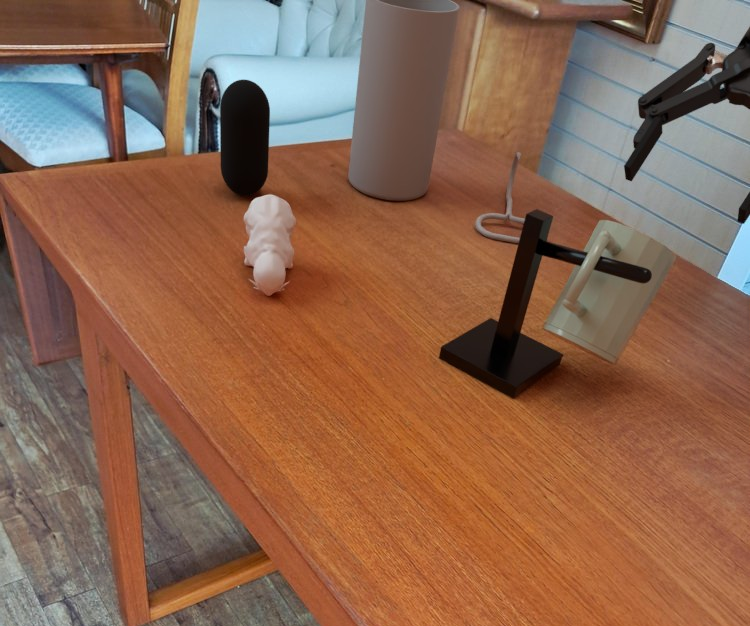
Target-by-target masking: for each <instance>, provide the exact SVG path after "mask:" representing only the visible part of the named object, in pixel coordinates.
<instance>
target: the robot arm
mask: <svg viewBox="0 0 750 626" xmlns="http://www.w3.org/2000/svg"><path fill="white" fill-rule="evenodd" d="M717 69H721V71H719V72H717V73H715V74H713V75H712V73H713V71H715V70H717ZM706 75H711V76H710V78H709V79H708V80H706V81H703V82H702V83H700V84H698V85H697V83H698V82H700V81H701V80H702V79H703V78H704V77H705V76H706ZM693 85H695V86H693ZM722 85H723V87H721V86H722ZM692 86H693V87H692ZM726 100H728V104H731V105H734V106H743V107H745V108H746V109H748V110H750V26H749V27H748V29H747V30H746V31H745V33H744V34H743V36H742V38H741V40H740V41H739V43H738V44H737V46H736V48H735V49H734V50H733V51H732V52H730V53H728V55H727V54H726V53H722V52H720V51H718V50H716V44H715V43H713V42H707V43H706V44H704V46H703V47H702V49H701V50H699V52H698V54H696V56H695V57H694V58H692V59H691V60H690V61H688V62H687V63H686V64H684V65H683V66H682V67H680V68H679V69H678V70H676V71H675V72H673V73H672V74H670V75H669V76H668V77H666V78H665V79H663V80H662V81H661V82H660V83H658V84H656V85H655V86H653V87H652V88H651V89H649V90H648V91H647V92H645V93H644V94H642V95H641V96H639V98H638V100H637V109H638V116H639V118H640V119H643V121H642V123H641V125H640V126H639V128H638V129H637V131H636V132H635V134H634V136H633V140H632V144H633V150H632V153H631V154H630V156H629V157H628V158H627V161H626V162H625V164H624V165H623V169H624V176H625V180H626V181H629V182H633V180H634V179H635V177H636V175H637V174H638V173H639V170H640V169H641V168H642V166H643V164H644V163H645V161H646V160H647V158H648V157H649V155H650V153H651V152H652V150H653V149H654V147H655V146H656V144H657V142H658V141H659V139H660V138H661V136H662V134H663V126H665V125H666V124H669V123H671V122H673V121H675V120H678V119H679V118H682V117H684V116H686V115H688V114H691V113H693V112H695V111H698V110H699V109H702V108H704V107H706V106H708V105H710V104H713V105H716V104H719V103H721V102H723V101H726ZM749 217H750V191H749V192H748V193H747V195H746V197H745V198H744V200H743V201H742V203H741V205H740V206H739V207H738V213H737V222H738V223H740V224H743V225H745V223H746V222H747V220H748V218H749Z"/></svg>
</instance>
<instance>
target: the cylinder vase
mask: <svg viewBox="0 0 750 626" xmlns="http://www.w3.org/2000/svg"><path fill="white" fill-rule="evenodd" d="M459 12H460V5H459V4H458V3H456V2H455V1H453V0H365V6H364V16H363V25H362V34H361V35H362V36H361V46H360V54H359V65H358V73H357V74H358V75H357V84H356V92H355V93H356V95H355V103H354V115H353V122H352V134H351V143H350V144H351V145H350V153H349V164H348V173H347V177H348V181H349V183H350V184H351V186H352V187H353V188H354V189H356V190H357V191H358V192H360V193H362V194H364V195H367V196H369V197H372V198H376V199H379V200H383V201H384V200H386V201H394V202H401V201H402V202H404V201H412V200H415V199H419V198H421V197H422V196H424V195H425V194H426V193H427V191H428V190H429V185H430V180H431V174H432V169H433V162H434V157H435V151H436V146H437V141H438V133H439V128H440V122H441V116H442V110H443V104H444V99H445V93H446V87H447V86H446V85H447V81H448V76H449V69H450V65H451V64H450V63H451V58H452V53H453V52H452V51H453V47H454V41H455V36H456V35H455V34H456V29H457V22H458V17H459Z"/></svg>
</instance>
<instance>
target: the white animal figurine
mask: <svg viewBox="0 0 750 626" xmlns="http://www.w3.org/2000/svg"><path fill="white" fill-rule="evenodd" d="M292 210H293V209H292V208H291V205H290V204H289V202H288V201H287V200H286V199H283V198H281V197H280V196H277V195H275V194H271V193H269V194H265V195H261V196H258V197H255V198H253V200H251V202H250V203H249V206H248V209H247V210H246V212H245V213H244V216H243V223H244V224H245V232H246V234H247V237H248V238H249V239H248V241H247V243H246V245H244V246H243V254H244V257H245V258H244V260H243V261H244V262H243V263H244V265H245V266H246V267H253V270H252V275H253V279H250V278H248V277H247V279H248V281H249V282H250V283H252V285H253V286H254V287H253V286H252V287H253V289H256V290H258V291H260V292H262V293H264V294H265V296H267V297H271V296H272V295H273V294H275V293H276V292H281V291H285V289H286V288H285V286H287V285H288V284H289V283H290V282H291V280H289V281H288V282H286V276H287V275H286V269H287V268H288V269H290V270H291V269H292V268H293V266H294V264H293V261H294V257H295V249H294V247H293V245H292V243H291V239H292V236H293V234H294V227H296V225H297V220H296V217H295V215H294V214H293V211H292ZM288 269H287V270H288Z"/></svg>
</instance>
